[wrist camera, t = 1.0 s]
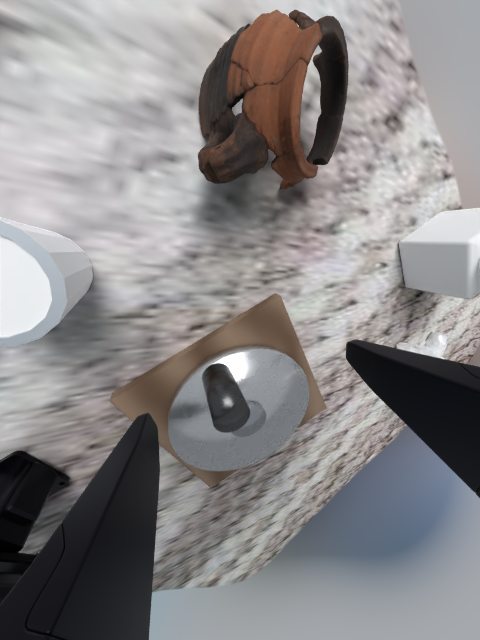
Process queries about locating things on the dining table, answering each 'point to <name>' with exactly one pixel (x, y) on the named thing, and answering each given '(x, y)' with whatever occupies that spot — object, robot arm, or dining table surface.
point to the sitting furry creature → (428, 345)
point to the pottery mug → (272, 97)
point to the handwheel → (237, 407)
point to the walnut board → (162, 381)
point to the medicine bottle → (444, 254)
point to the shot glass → (37, 281)
